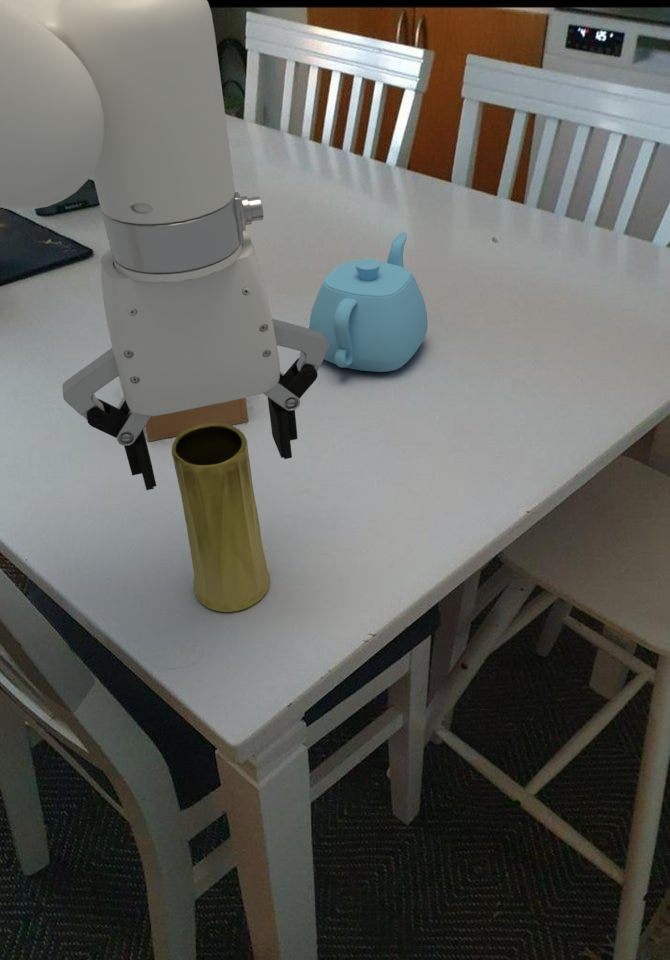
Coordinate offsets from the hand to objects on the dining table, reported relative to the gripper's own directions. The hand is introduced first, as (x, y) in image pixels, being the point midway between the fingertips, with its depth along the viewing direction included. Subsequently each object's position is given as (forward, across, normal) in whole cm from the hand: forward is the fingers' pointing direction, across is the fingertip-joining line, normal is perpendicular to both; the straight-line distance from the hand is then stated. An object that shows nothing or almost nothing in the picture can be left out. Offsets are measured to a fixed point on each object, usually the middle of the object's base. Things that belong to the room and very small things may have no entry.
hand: (216, 462), depth 58 cm
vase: (+13, +1, 0) cm, 13 cm away
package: (+13, 0, -27) cm, 30 cm away
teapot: (+13, -22, -32) cm, 41 cm away
